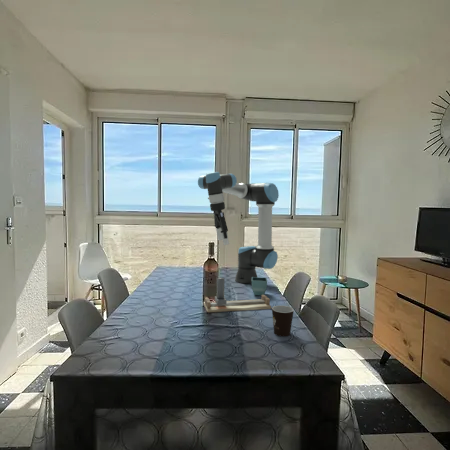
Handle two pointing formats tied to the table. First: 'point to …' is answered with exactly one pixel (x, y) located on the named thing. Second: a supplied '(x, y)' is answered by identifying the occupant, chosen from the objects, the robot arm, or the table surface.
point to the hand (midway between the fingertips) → (223, 242)
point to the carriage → (220, 291)
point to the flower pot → (259, 285)
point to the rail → (238, 305)
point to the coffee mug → (282, 320)
